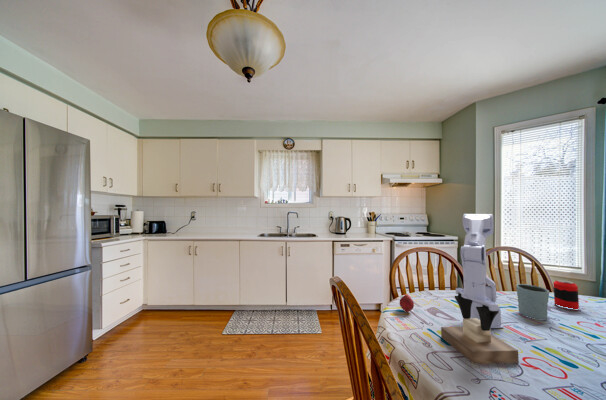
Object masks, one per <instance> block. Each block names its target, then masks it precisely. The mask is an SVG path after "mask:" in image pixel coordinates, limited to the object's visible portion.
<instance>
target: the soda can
mask: <svg viewBox="0 0 606 400" xmlns="http://www.w3.org/2000/svg"><path fill="white" fill-rule="evenodd" d="M552 285H553V299H554V300H553V302H554V305H555V304H557V305H560V306H563V307H568V308H573V309H578V308H579V309H580V301H579V288H578V287H579V286H578V285H577V284H576V283H575V282H573V281H570V280H565V279H556V280H555V281H554V282H553V283H552Z"/></svg>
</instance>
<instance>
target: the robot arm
mask: <svg viewBox="0 0 606 400" xmlns="http://www.w3.org/2000/svg"><path fill="white" fill-rule="evenodd" d="M462 227H463V229H464V232H465V236H464V243H463V246H462V245H461V247H460V260H461V266H462V272H463V273H462V274H463V275H462V276H463V288H462V287H455V294H456V295H454V299H455V301H456V303H457V304H458V306H459V309H460V313H461V317H462V319H469V318H477V319H479V320H480V323H481V329H482V330H483V331H490V332H491V329H503V328H504V326H503V325H502V316H501V315H502V314H501V313H502V312H501V308H500V306H499V304H498V303H497V287H496V283H495V281H494V280H492V279H491V278H490V277H488V276H487V249H486V248H487V246H486V245H487V244H486V243H487V238H488V237H489V236H491V235H493V233H494V228H495V227H494V215H493V214H492V213H488V214H487V213H463V215H462Z"/></svg>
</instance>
